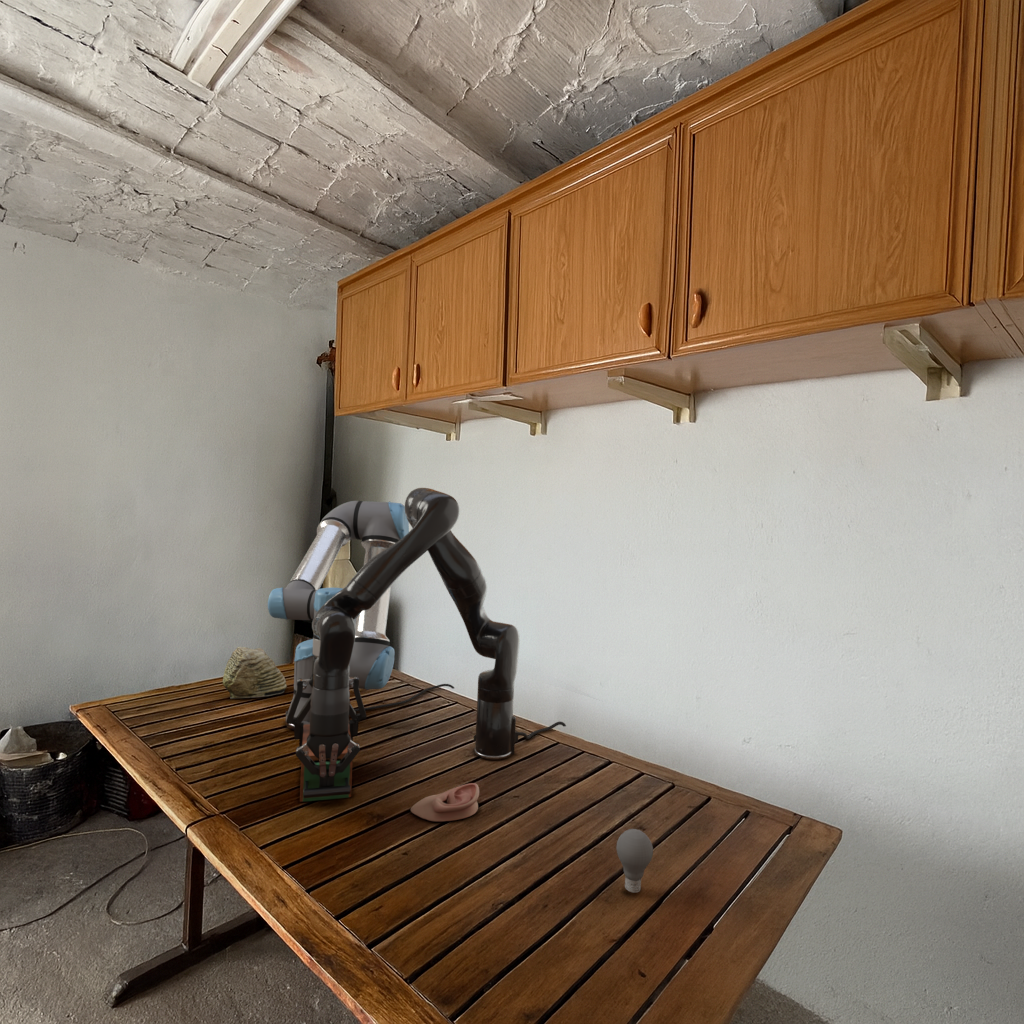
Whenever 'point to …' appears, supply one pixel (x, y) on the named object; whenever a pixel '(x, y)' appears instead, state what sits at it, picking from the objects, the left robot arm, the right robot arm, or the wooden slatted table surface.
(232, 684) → the fossil
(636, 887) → the light bulb
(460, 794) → the anatomical model
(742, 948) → the wooden slatted table surface
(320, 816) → the wooden slatted table surface
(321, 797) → the drawer
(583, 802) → the wooden slatted table surface
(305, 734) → the cabinet
